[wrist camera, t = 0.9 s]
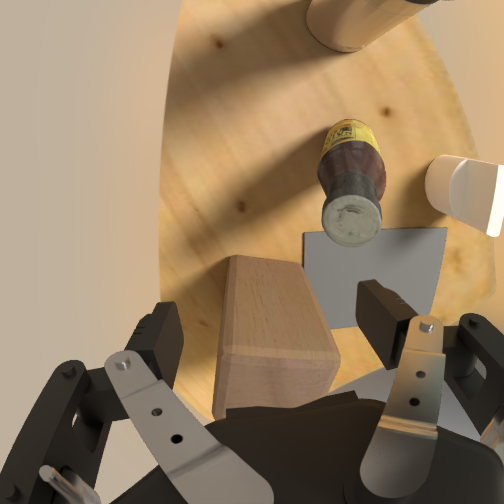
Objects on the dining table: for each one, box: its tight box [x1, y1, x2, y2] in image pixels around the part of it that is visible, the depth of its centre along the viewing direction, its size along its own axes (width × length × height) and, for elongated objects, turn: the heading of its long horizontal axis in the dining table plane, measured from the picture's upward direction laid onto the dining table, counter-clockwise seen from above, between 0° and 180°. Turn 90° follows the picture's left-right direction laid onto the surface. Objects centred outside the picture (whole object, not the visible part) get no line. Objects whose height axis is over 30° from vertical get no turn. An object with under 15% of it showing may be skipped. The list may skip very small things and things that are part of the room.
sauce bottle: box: [317, 119, 386, 247], centre depth 25 cm, size 7×6×20 cm
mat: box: [304, 227, 448, 329], centre depth 40 cm, size 16×24×1 cm, turn 93°
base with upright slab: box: [425, 155, 504, 237], centre depth 30 cm, size 9×9×12 cm
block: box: [212, 255, 341, 421], centre depth 31 cm, size 10×10×20 cm
